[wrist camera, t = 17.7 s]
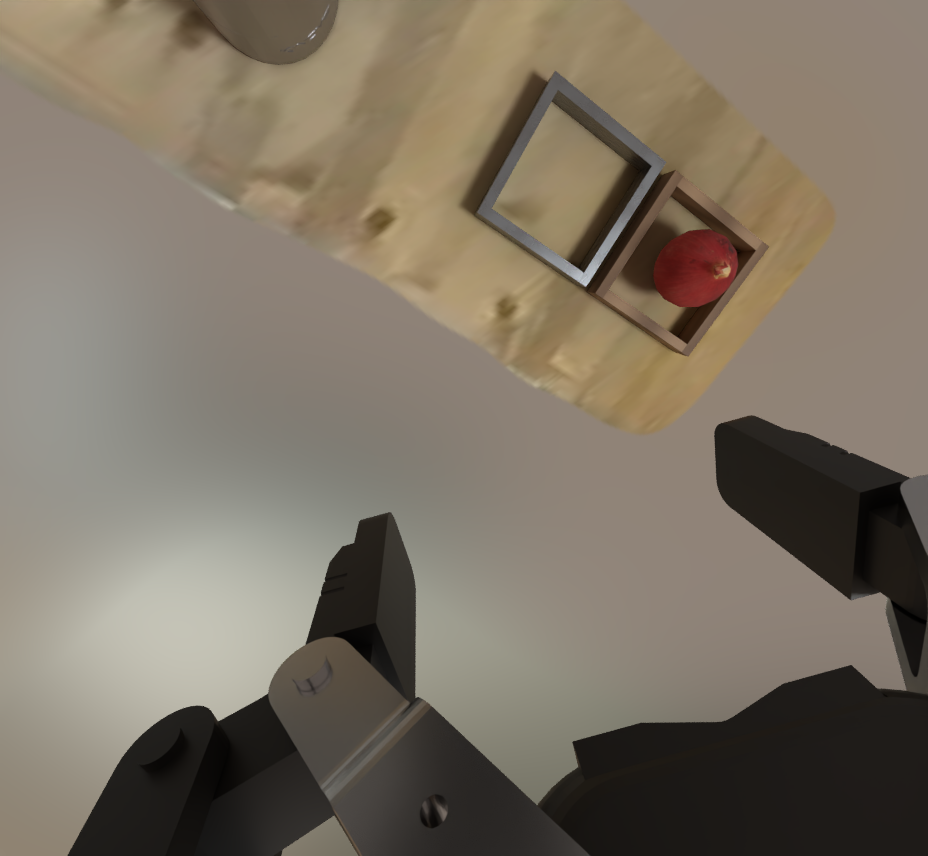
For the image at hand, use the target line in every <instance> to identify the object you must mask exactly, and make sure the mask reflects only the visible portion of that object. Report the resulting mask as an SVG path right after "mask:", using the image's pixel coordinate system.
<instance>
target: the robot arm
mask: <svg viewBox="0 0 928 856" xmlns="http://www.w3.org/2000/svg"><path fill="white" fill-rule="evenodd" d="M193 1H194V2H195V3H196V4H197V6H198V7H199V8H200V9H201V10H202V11H203V13H204V14H205V15H206V16H207V17H208V19H209V20H210V21H211V22H212V23H213V24H214V26H215V27H216V28H217V29H218V30H219V32H220V33H221V34H222V35H223V36H224V37H225V38H226V39H227V40H228V41H229V42H230V43H231V44H232V45H233V46H234V47H235V48H237V49H238V50H240V51H241V52H243V53H244V54H246V55H248V56H249V57H251V58H254V59H256V60H259V61H262V62H264V63H271V64H278V65H280V64H290V63H294V62H297V61H300V60H302V59H305V58H307V57H308V56H309V55H311V54H312V53H313V52H315V51H316V50H317V49H318V48H319V47H320V46H321V44H322V43H323V42H324V41H325V40H326V38H327V36H328V34H329V32H330V30H331V28H332V26H333V24H334V20H335V16H336V13H337V8H338V0H193ZM714 437H715V458H716V479H717V486H718V490H719V492H720V494H721V496H722V498H723V500H724V501H725V502H726V504H728V506H730V507H731V508H732V509H733V510H735V511H736V512H737V513H739V514H740V515H741V516H742V517H744V518H745V519H746V520H748V521H749V522H750V523H751V524H753V525H754V526H755V527H757V528H758V529H759V530H761V531H762V532H763V533H765V534H766V535H767V536H768V537H770V538H771V539H772V540H774V541H775V542H776V543H777V544H779V545H780V546H781V547H782V548H784V549H785V550H787V551H788V552H789V553H790V554H792V555H793V556H794V557H795V558H797V559H798V560H799V561H801V562H802V563H803V564H805V565H806V566H807V567H808V568H810V569H811V570H812V571H814V572H815V573H816V574H817V575H819V576H820V577H821V578H823V579H824V580H825V581H827V582H828V583H829V584H830V585H832V586H833V587H834V588H836V589H837V590H838V591H840V592H841V593H842V594H843V595H845V596H846V597H847V598H849V599H850V600H854V599H857V598H861V597H865V596H868V595H872V594H876V593H879V592H881V593H882V594H884V595H885V596H887V601H886V609H885V610H886V616H887V620H888V624H889V627H890V631H891V635H892V638H893V642H894V646H895V649H896V653H897V657H898V661H899V664H900V668H901V672H902V675H903V679H904V683H905V686H906V690H907V691H902V690H892V689H877V688H876V687H875V686H874V685H872V684H871V683H870V682H869V681H868V680H867V679H866V678H865V677H864V676H863V675H862V674H861V673H859V672H858V671H857V670H856V669H855V668H854V667H853V666H852V665H850V666H846V667H842V668H839V669H835V670H832V671H828V672H824V673H821V674H817V675H814V676H810V677H806V678H802V679H799V680H796V681H792V682H788V683H784V684H782V685H781V686H779V687H778V688H776V689H774V690H773V691H772V692H770V693H768V694H767V695H765V696H764V697H762V698H761V699H759V700H758V701H756V702H755V703H753V704H752V705H750V706H749V707H747V708H746V709H744V710H743V711H741V712H740V713H738V714H737V715H735V716H734V717H732V718H730V719H728V720H726V721H723V722H696V723H695V722H692V723H690V722H686V723H639V724H635V725H632V726H628V727H625V728H621V729H617V730H614V731H610V732H606V733H602V734H599V735H595V736H591V737H588V738H584V739H581V740H577V741H573V746H574V751H575V755H576V759H577V763H578V768H576V769H575V770H573V771H572V772H571V773H569V774H568V775H566V776H565V777H564V778H563V779H561V780H560V781H559V782H558V783H557V784H556V785H555V786H553V787H552V788H551V789H550V791H549V792H548V793H547V794H546V795H545V796H544V797H543V799H542V800H541V801H540V802H539V803H538V805H536V804H535V803H534V802H533V801H532V800H531V799H530V798H528V797H527V796H526V795H525V794H524V793H523V792H522V791H521V790H520V789H519V788H518V787H517V786H516V785H515V784H514V783H513V782H512V781H510V780H509V779H508V778H507V777H506V776H505V775H504V774H503V773H502V772H501V771H500V770H499V769H498V768H497V767H496V766H495V765H493V764H492V763H491V762H490V761H489V760H488V759H487V758H486V757H485V756H484V755H483V754H482V753H481V752H480V751H478V749H476V748H475V747H474V746H473V745H472V744H471V743H470V742H469V741H468V740H467V739H466V738H465V737H464V736H463V735H462V734H461V733H460V732H458V731H457V730H456V729H455V728H454V727H453V726H452V725H451V724H450V723H449V722H448V721H447V720H446V719H445V718H444V717H442V716H441V715H440V714H439V713H438V712H437V711H436V710H435V709H434V708H433V707H432V706H431V705H430V704H429V703H427V702H426V701H425V700H423V699H421V698H419V697H417V698H415V636H416V633H415V632H416V631H415V629H416V621H415V620H416V588H415V580H414V575H413V571H412V567H411V564H410V561H409V558H408V555H407V552H406V549H405V547H404V544H403V541H402V538H401V535H400V533H399V530H398V527H397V524H396V522H395V519H394V517H393V515H392V513H390V512H389V513H385V514H381V515H377V516H374V517H370V518H366V519H363V520H360V521H359V524H358V529H357V533H356V538H355V542H354V543H353V544H350V545H346V546H343V547H342V548H341V549H340V550H339V551H338V553H337V554H336V555H335V557H334V558H333V559H332V560H331V562H330V563H329V567H328V570H327V573H326V577H325V582H324V584H323V587H322V590H321V596H320V597H319V601H318V604H317V607H316V611H315V614H314V618H313V621H312V625H311V628H310V631H309V635H308V638H307V641H306V645H305V646H303V647H301V648H300V649H298V650H297V651H295V652H294V653H293V654H292V655H291V656H289V658H287V659H286V660H285V661H284V662H283V664H282V665H281V666H280V667H279V669H278V670H277V672H276V673H275V675H274V677H273V679H272V681H271V684H270V687H269V692H268V694H267V695H265V696H264V697H262V698H260V699H259V700H257V701H255V702H253V703H252V704H250V705H248V706H246V707H244V708H242V709H240V710H239V711H237V712H235V713H233V714H231V715H229V716H228V717H226V718H224V719H222V720H220V721H217V719H216V718H215V716H214V714H213V713H212V712H211V710H209V709H208V708H206V707H204V706H190V707H186V708H183V709H181V710H178V711H176V712H174V713H172V714H170V715H168V716H166V717H165V718H163V719H161V720H160V721H159V722H157V723H156V724H154V725H153V726H152V727H151V728H149V729H148V730H147V731H146V732H145V733H143V734H142V735H141V736H140V737H139V738H138V739H137V740H136V741H135V742H134V743H133V745H132V746H131V747H130V748H129V749H128V750H127V752H126V753H125V754H124V756H123V757H122V759H121V760H120V762H119V764H118V765H117V767H116V768H115V770H114V772H113V774H112V776H111V777H110V779H109V781H108V783H107V785H106V787H105V788H104V790H103V792H102V794H101V796H100V797H99V799H98V801H97V803H96V805H95V807H94V809H93V810H92V812H91V814H90V816H89V817H88V819H87V821H86V823H85V825H84V827H83V828H82V830H81V832H80V834H79V836H78V838H77V839H76V841H75V843H74V845H73V847H72V848H71V850H70V852H69V854H68V856H281V854H282V850H283V849H284V848H285V847H287V846H289V845H290V844H292V843H293V842H294V841H296V840H298V839H299V838H301V837H302V836H304V835H305V834H307V833H308V832H310V831H311V830H313V829H314V828H316V827H317V826H319V825H320V824H322V823H323V822H325V821H326V820H328V819H329V818H331V817H332V816H335V817H336V819H337V821H338V822H339V824H340V826H341V827H342V829H343V831H344V832H345V834H346V836H347V837H348V839H349V841H350V842H351V844H352V846H353V848H354V849H355V851H356V852H357V854H358V856H928V475H922V476H917V477H913V478H909V477H907V476H904V475H902V474H900V473H897V472H895V471H893V470H890V469H888V468H886V467H883V466H881V465H879V464H876V463H874V462H872V461H869V460H867V459H865V458H863V457H860V456H858V455H856V454H853V453H850V454H849V453H848V452H847V451H846V450H844V449H842V448H839V447H837V446H834V445H832V446H830V444H829V443H828V442H825V441H823V440H821V439H818V438H816V437H814V436H811V435H809V434H806V433H801V432H795V431H791V430H786V429H783V428H781V427H779V426H777V425H774V424H772V423H770V422H768V421H765V420H763V419H761V418H758V417H756V416H747V417H743V418H739V419H735V420H732V421H728V422H724V423H721V424H719V425H718V426H717V427H716V429H715V435H714Z"/></svg>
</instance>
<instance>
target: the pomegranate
mask: <svg viewBox="0 0 928 856" xmlns="http://www.w3.org/2000/svg"><path fill="white" fill-rule="evenodd" d="M737 268H738V259H737V252H736V250H735V248H734V247H733V245H732V244H731V242H730V241H729V239H728V238H727V237H725V236H724V235H721V234H719V233H717V232H714V231H712V230H710V229H706V230H693V231H688V232H686V233H684V234H682V235H680V236H678V237H676V238H674V239H672V240H671V241H670V242H669V243H668V244H667V245H666V246H665V247H664V248H663V249H662V250H661V252H660V254H659V256H658V258H657V260H656V262H655V266H654V273H653V277H654V281H655V286H656V289H657V290H658V292H659V293H660V294H661V296H662V297H663V298H664V299H665V300H667V301H669V302H671V303H673V304H675V305H677V306H679V307H699V306H702V305H704V304H707V303H709V302H711V301H714V300H716V299H717V298H718V297H719V296H720V295H722V294H723V293H724V292H725V291H726V290H727V289H728V288H729V286H730V285H731V283H732V282H733V280H734V278H735V276H736V272H737Z"/></svg>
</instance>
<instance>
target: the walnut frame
mask: <svg viewBox="0 0 928 856" xmlns="http://www.w3.org/2000/svg"><path fill="white" fill-rule="evenodd" d="M670 196H672V197H673V198H674V199H675V200H677V201H678V202H679V203H680V204H682V205H683V206H684V207H685V208H687V209H688V210H689V211H690V212H692V213H693V214H694V215H695V216H697V217H698V218H699V219H700V220H702V221H703V222H704V223H705V224H707V225H708V226H709V227H710V228H712V229H713V230H714V231H715V232H717V233H719V234H721V235H724V236H725V237H727V238H728V239H729V241H730V242H731V244H732V245H733V246H734V247H735V248H737V249H738V250H739V251H740V252H739V253H738V254H737V259H738V268H737V272H736V276H735V278H734V280H733V282H732V283H731V285H730V286H729V288H728V289H727V290H726V291H725V292H724V293H723V294H722V295H720V296H719V297H718V298H717V299H716V300H714V301H711V302H709V303H707V304H704V305H702V306H700V307H699V308H698V310H697V311H696V312H695V314H694V315H693V317H692V318H691V319H690V321H689V322H688V324H687V325H686V326H685V328H684V329H683V330H682V332H681V333H680V335H679V336H678V337H676V336H675V335H673V334H672V333H670V332H669V331H667V330H666V329H664V328H663V327H662V326H660V325H659V324H657V323H656V322H654V321H653V320H651V319H650V318H649V317H647V316H646V315H644V314H643V313H641V312H640V311H638V310H637V309H636V308H634V307H633V306H631V305H630V304H628V303H627V302H626V301H624V300H623V299H621V298H620V297H618V296H617V295H615V294H614V293H613V292H611V291H610V290H609V288H610V287H611V285H612V284H613V282H614V281H615V279H616V278H617V276H618V275H619V273H620V272H621V270H622V269H623V267H624V266H625V264H626V263H627V261H628V260H629V258H630V256H631V255H632V253H633V252H634V250H635V249H636V247H637V246H638V244H639V243H640V241H641V240H642V238H643V237H644V235H645V234H646V232H647V231H648V229H649V228H650V226H651V225H652V223H653V222H654V220H655V219H656V217H657V215H658V214H659V212H660V211H661V209H662V208H663V206H664V205H665V203H666V202H667V200H668V199H669V197H670ZM768 248H769V246H768V245H766V244H765V243H764V242H763V241H762V240H760V239H759V238H758V237H757V236H755V235H754V234H753V233H752V232H751V231H749V230H748V229H747V228H746V227H745V226H743V225H742V224H741V223H740V222H738V221H737V220H736V219H735V218H734V217H732V216H731V215H730V214H729V213H727V212H726V211H725V210H724V209H723V208H721V207H720V206H719V205H718V204H717V203H715V202H714V201H713V200H712V199H710V198H709V197H708V196H707V195H706V194H704V193H703V192H702V191H701V190H700V189H698V188H697V187H696V186H695V185H693V184H692V183H691V182H690V181H689V180H687V179H686V178H685V177H684V176H683V175H681V174H680V173H679V172H678V171H676V170H674V171H672V172H669V173H666V174H664V175H662V176H661V178H660V180H659V181H658V183H657V184H656V186H655V187H654V189H653V190H652V192H651V193H650V195H649V197H648V198H647V200H646V201H645V203H644V204H643V206H642V207H641V209H640V210H639V212H638V214H637V215H636V217H635V218H634V220H633V221H632V223H631V224H630V226H629V228H628V229H627V231H626V232H625V234H624V235H623V237H622V238H621V240H620V241H619V243H618V245H617V246H616V248H615V249H614V251H613V252H612V254H611V255H610V257H609V258H608V260H607V262H606V263H605V265H604V266H603V268H602V269H601V271H600V272H599V274H598V275H597V277H596V279H595V280H594V282H593V283H592V285H591V286H590V288H589V289H588V291H587V292H588V293H589V294H591V295H592V296H594V297H595V298H597V299H598V300H599V301H601V302H602V303H604V304H605V305H607V306H608V307H610V308H611V309H613V310H614V311H616V312H617V313H619V314H620V315H621V316H623V317H624V318H626V319H627V320H629V321H630V322H632V323H633V324H635V325H636V326H638V327H639V328H641V329H642V330H644V331H645V332H646V333H648V334H649V335H651V336H652V337H654V338H655V339H657V340H658V341H660V342H661V343H663V344H664V345H666V346H667V347H668V348H670V349H671V350H673V351H674V352H676V353H679V354H682V355H685V356H689V355H690V353H691V352H692V351H693V349H694V348H695V347H696V345H697V344H698V343H699V341H700V340H701V339H702V337H703V336H704V335H705V333H706V332H707V330H708V329H709V328H710V326H711V325H712V324H713V322H714V321H715V320H716V318H717V317H718V316H719V314H720V313H721V311H722V310H723V309H724V307H725V306H726V305H727V303H728V302H729V301H730V299H731V298H732V297H733V295H734V294H735V292H736V291H737V290H738V288H739V287H740V286H741V284H742V283H743V282H744V280H745V279H746V278H747V276H748V275H749V273H750V272H751V271H752V269H753V268H754V267H755V265H756V264H757V263H758V261H759V260H760V259H761V257H762V256H763V255H764V253H765V252H766V250H767V249H768Z"/></svg>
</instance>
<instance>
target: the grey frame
mask: <svg viewBox="0 0 928 856" xmlns="http://www.w3.org/2000/svg"><path fill="white" fill-rule="evenodd" d="M551 101H553V102H554V103H555V104H557V105H558V106H559V107H560V108H562V109H563V110H564V111H565V112H567V113H568V114H569V115H570V116H572V117H573V118H574V119H575V120H577V121H578V122H579V123H580V124H582V125H583V126H584V127H585V128H587V129H588V130H589V131H590V132H592V133H593V134H594V135H595V136H597V137H598V138H599V139H600V140H602V141H603V142H604V143H605V144H607V145H608V146H609V147H610V148H612V149H613V150H614V151H615V152H617V153H618V154H619V155H620V156H622V157H623V158H624V159H625V160H627V161H628V162H629V163H630V164H632V165H633V166H634V167H635V168H637V169H638V170H639V171H640V172H639V173H638V175H637V176H636V178H635V180H634V181H633V183H632V184H631V186H630V187H629V189H628V191H627V192H626V194H625V195H624V197H623V199H622V200H621V202H620V203H619V205H618V206H617V208H616V210H615V211H614V213H613V214H612V216H611V218H610V219H609V221H608V222H607V224H606V225H605V227H604V229H603V230H602V232H601V233H600V235H599V237H598V238H597V240H596V241H595V243H594V244H593V246H592V248H591V249H590V251H589V252H588V254H587V256H586V257H585V259H584V260H583V262H582V263H581V265H580V267H579V268H576V267H575V266H573V265H572V264H571V263H569V262H568V261H566V260H565V259H563V258H562V257H560V256H559V255H558V254H556V253H555V252H553V251H552V250H550V249H549V248H548V247H546V246H545V245H543V244H542V243H540V242H539V241H537V240H536V239H535V238H533V237H532V236H530V235H529V234H527V233H526V232H524V231H523V230H522V229H520V228H519V227H517V226H516V225H514V224H513V223H511V222H510V221H509V220H507V219H506V218H504V217H503V216H501V215H500V214H498V213H497V212H496V211H494V210H493V209H492V207H493V205H494V203H495V201H496V200H497V198H498V196H499V194H500V192H501V191H502V189H503V187H504V185H505V183H506V182H507V180H508V178H509V176H510V175H511V173H512V171H513V169H514V167H515V166H516V164H517V162H518V160H519V158H520V157H521V155H522V153H523V151H524V150H525V148H526V146H527V144H528V142H529V141H530V139H531V137H532V135H533V133H534V132H535V130H536V128H537V126H538V125H539V123H540V121H541V119H542V117H543V116H544V114H545V112H546V110H547V108H548V107H549V105H550V103H551ZM665 163H666V162H665V161H664V160H663V159H662V158H661V157H659V156H658V155H657V154H656V153H654V152H653V151H652V150H651V149H650V148H648V147H647V146H646V145H645V144H644V143H642V142H641V141H640V140H639V139H637V138H636V137H635V136H634V135H633V134H631V133H630V132H629V131H628V130H627V129H625V128H624V127H623V126H622V125H620V124H619V123H618V122H617V121H616V120H614V119H613V118H612V117H611V116H610V115H608V114H607V113H606V112H605V111H603V110H602V109H601V108H600V107H599V106H597V105H596V104H595V103H594V102H593V101H591V100H590V99H589V98H588V97H586V96H585V95H584V94H583V93H582V92H580V91H579V90H578V89H577V88H576V87H574V86H573V85H572V84H571V83H569V82H568V81H567V80H566V79H565V78H563V77H562V76H561V75H560V74H559V73H557V72H556V71H555V72H554V73H553V75H552V76H551V78H550V79H549V80H548V82H547V84H546V86H545V87H544V89H543V91H542V93H541V95H540V96H539V98H538V100H537V102H536V104H535V106H534V107H533V109H532V111H531V113H530V115H529V116H528V118H527V120H526V122H525V124H524V125H523V127H522V129H521V131H520V133H519V135H518V136H517V138H516V140H515V142H514V144H513V145H512V147H511V149H510V151H509V153H508V154H507V156H506V158H505V160H504V162H503V164H502V165H501V167H500V169H499V171H498V173H497V174H496V176H495V178H494V180H493V182H492V183H491V185H490V187H489V189H488V191H487V193H486V194H485V196H484V198H483V200H482V202H481V203H480V205H479V207H478V209H477V211H476V212H475V214H474V215H475V216H476V217H477V218H479V219H480V220H482V221H483V222H485V223H486V224H488V225H489V226H491V227H492V228H494V229H495V230H497V231H498V232H499V233H501V234H502V235H504V236H505V237H507V238H508V239H510V240H511V241H513V242H514V243H516V244H517V245H519V246H520V247H521V248H523V249H524V250H526V251H527V252H529V253H530V254H532V255H533V256H535V257H536V258H538V259H539V260H541V261H542V262H544V263H545V264H546V265H548V266H549V267H551V268H552V269H554V270H555V271H557V272H558V273H560V274H561V275H563V276H564V277H566V278H567V279H568V280H570V281H571V282H573V283H574V284H576V285H577V286H583V287H586V286H587V284H588V283H589V281H590V280H591V278H592V277H593V275H594V274H595V272H596V271H597V269H598V267H599V266H600V264H601V263H602V261H603V260H604V258H605V257H606V255H607V253H608V252H609V250H610V249H611V247H612V246H613V244H614V243H615V241H616V239H617V238H618V236H619V235H620V233H621V232H622V230H623V229H624V227H625V225H626V224H627V222H628V221H629V219H630V218H631V216H632V215H633V213H634V212H635V210H636V208H637V207H638V205H639V204H640V202H641V201H642V199H643V198H644V196H645V194H646V193H647V191H648V190H649V188H650V187H651V185H652V184H653V182H654V180H655V179H656V177H657V176H658V174H659V173H660V171H661V170H662V168H663V166H664V165H665Z"/></svg>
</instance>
